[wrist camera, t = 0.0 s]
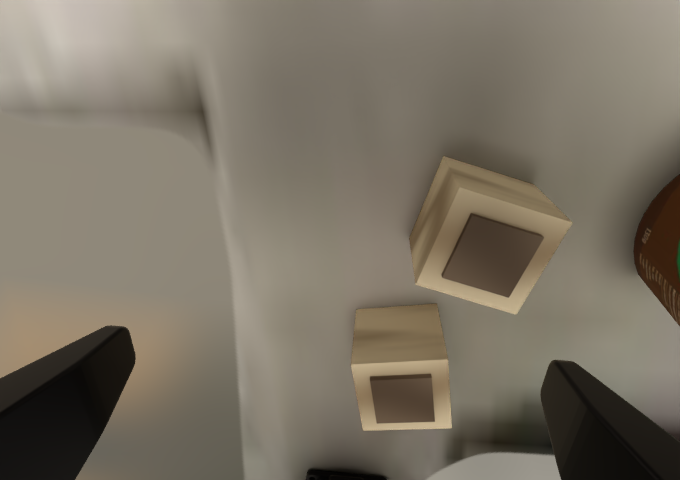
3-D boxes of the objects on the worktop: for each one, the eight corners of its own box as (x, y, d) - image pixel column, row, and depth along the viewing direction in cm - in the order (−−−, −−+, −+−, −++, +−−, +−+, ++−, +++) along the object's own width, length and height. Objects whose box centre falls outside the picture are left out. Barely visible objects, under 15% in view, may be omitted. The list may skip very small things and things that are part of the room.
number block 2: (490, 262, 24) (517, 318, 19) (409, 237, 24) (416, 288, 19) (533, 183, 22) (575, 225, 17) (443, 155, 21) (460, 189, 17)
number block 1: (440, 364, 28) (452, 432, 23) (366, 368, 28) (362, 435, 24) (436, 302, 25) (448, 363, 21) (356, 308, 26) (350, 368, 21)
